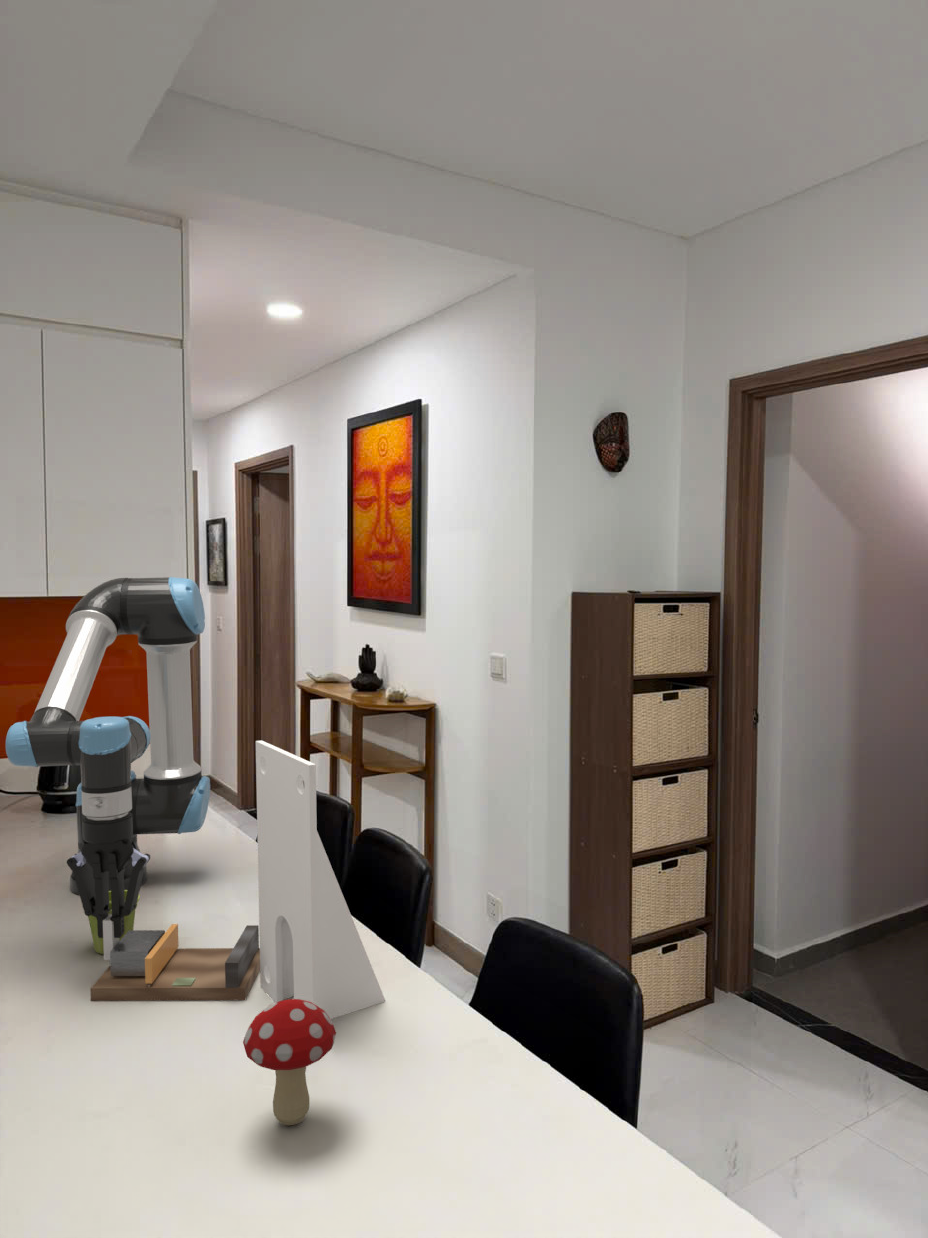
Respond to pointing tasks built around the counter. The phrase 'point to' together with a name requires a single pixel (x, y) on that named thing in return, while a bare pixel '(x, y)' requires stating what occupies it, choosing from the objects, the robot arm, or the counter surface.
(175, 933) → the upright wooden plank
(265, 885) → the white bracket plate
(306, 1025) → the decorative mushroom
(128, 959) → the grey foam block
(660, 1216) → the counter surface
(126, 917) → the plant pot
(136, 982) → the gauge board
